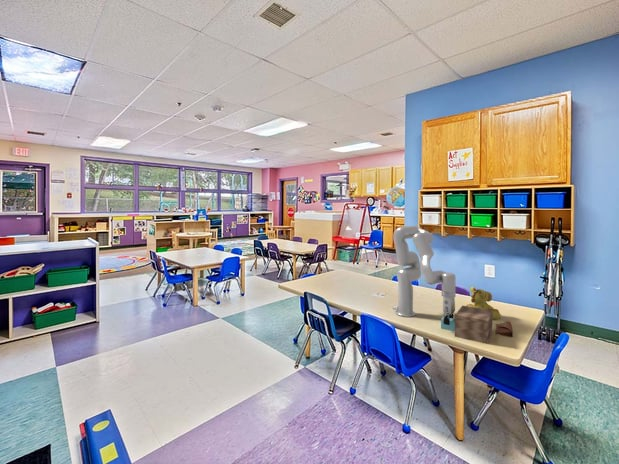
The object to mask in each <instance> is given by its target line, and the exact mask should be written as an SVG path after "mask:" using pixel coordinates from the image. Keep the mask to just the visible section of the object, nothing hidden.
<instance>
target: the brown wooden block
mask: <svg viewBox="0 0 619 464" xmlns="http://www.w3.org/2000/svg"><path fill="white" fill-rule="evenodd" d="M454 319H455V332H454V337H455V338H459V339H464V340H468V341H473V342H477V343H480V344H481V343H482V344H485V345H488V343H489V340H490V339H491V336H492V332H493V320H494V319H493V311H492V310H486V309H480V308H474V307H468V306H466V305H461V307H460V308H459V309H458V311H457V312H456V313H455V314H454Z"/></svg>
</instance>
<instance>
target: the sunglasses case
mask: <svg viewBox="0 0 619 464" xmlns="http://www.w3.org/2000/svg"><path fill="white" fill-rule="evenodd" d="M495 326H496V329H495V332H494V333H495V335H498V336H504V337H510V338H512V337H513V335H514V334H513V332H514V331H513V325H512V322H511V321H509V320H508V321H507V320H506V321H504V322H500V323H496V324H495Z"/></svg>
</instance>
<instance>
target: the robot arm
mask: <svg viewBox="0 0 619 464" xmlns="http://www.w3.org/2000/svg"><path fill="white" fill-rule="evenodd" d="M392 239H393V243H394V247H395V254H396V255H395V256H396V260H397V263H398V264H397V265H399V266H401V267H405V268H401V269H399V270H398V271H397V274H396V279H397V283H398V284H397V285H398V290H397V291H398V296H397V297H398V304H397V305H392V309H393V310H395V314H396V315H397V316H399V317H404V318H405V317H406V318H411V317H415V316H416V312H415V311H414V287H413V284H412V282H415V281H418V280H419V279H420V278H421V276H422V278H423V280H424V281H425V282H426V284H428V285H436V284H441V297H443V298H442V299H443V300H442V313H443V317H444V324H445V325H450V318H452V319H454V313H455V311H456V301H455V299H456V283H457V282H456V274H455V273H453V272H446V271H443V270H432V269H433V268H432V267H431V259H432V258H433V257H434V255H435V253H434V250H433V248H432V246H431V244H433V242H434V236H433V234H432V233H431V232H429V231H428V230H425V229H423V228H421V227H418V226H416V225H406V226H400V227H398V228H396V229H395V230H394V232H393V236H392ZM407 239H408V240H409V239H412V242H413V243H414V246H415V249H416V250H417V251H416V252H418V254H417V253H416V252H415V251H411V250H410V249H409V245H408V243H407ZM419 257H420V259H419Z"/></svg>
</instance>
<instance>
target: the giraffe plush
mask: <svg viewBox="0 0 619 464" xmlns="http://www.w3.org/2000/svg"><path fill="white" fill-rule="evenodd" d="M469 292H471V296H470V297H471V303H468V304H466V305H465V306H468V307H474V308H480V309H486V310H492V311H493V319H492V320H500V319H501V317H502V315H501V313H500V312H499V309H497V308H494V307H493V306H491V304H489V303H488V302H491V301H492V299H493V295H492V293H491V292H490V291H486V290H484V289H477V288H475V286H471V287H470V289H469ZM472 303H473V304H472Z"/></svg>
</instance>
